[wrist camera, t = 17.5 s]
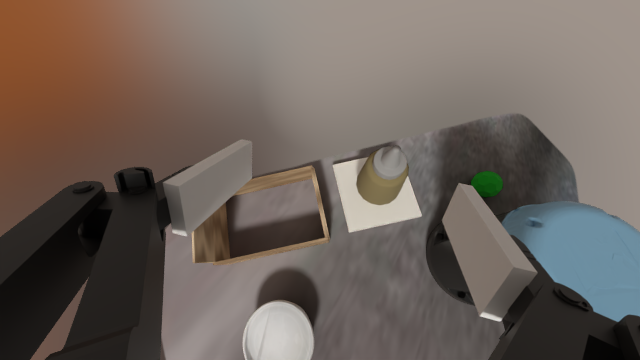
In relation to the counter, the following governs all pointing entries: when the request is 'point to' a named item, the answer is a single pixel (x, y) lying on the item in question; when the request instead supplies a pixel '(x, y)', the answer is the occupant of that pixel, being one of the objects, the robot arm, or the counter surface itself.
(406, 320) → the counter surface
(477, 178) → the polyhedron
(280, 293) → the counter surface
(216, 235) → the wooden box
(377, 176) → the squeeze bottle
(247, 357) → the ramekin
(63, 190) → the robot arm
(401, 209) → the cutting board
